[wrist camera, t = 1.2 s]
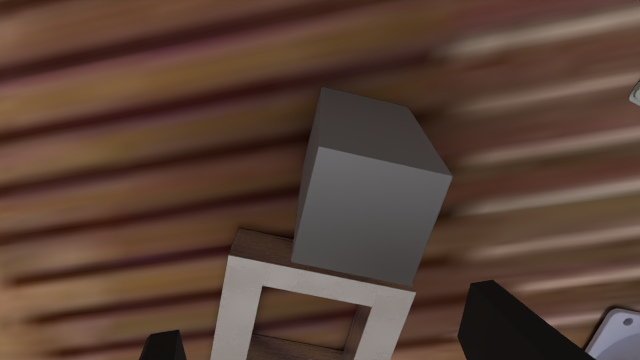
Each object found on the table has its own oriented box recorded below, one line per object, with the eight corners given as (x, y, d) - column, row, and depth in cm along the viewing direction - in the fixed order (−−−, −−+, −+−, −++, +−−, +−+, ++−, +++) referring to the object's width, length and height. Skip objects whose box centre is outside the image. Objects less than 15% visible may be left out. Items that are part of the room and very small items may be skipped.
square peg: (407, 106, 20) (452, 176, 13) (382, 185, 22) (411, 286, 15) (321, 86, 20) (318, 146, 13) (302, 167, 22) (290, 261, 14)
